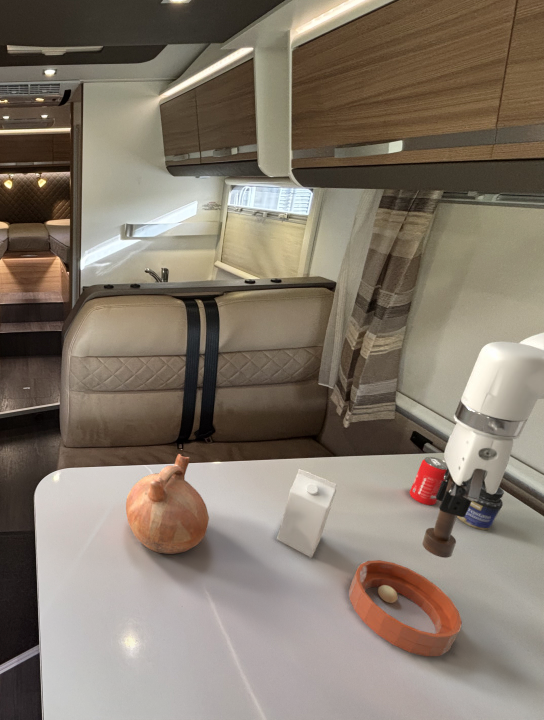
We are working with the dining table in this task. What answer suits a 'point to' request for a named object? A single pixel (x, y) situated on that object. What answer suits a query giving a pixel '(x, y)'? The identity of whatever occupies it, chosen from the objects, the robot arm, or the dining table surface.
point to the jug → (167, 510)
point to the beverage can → (428, 480)
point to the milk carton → (306, 512)
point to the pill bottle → (483, 510)
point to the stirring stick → (441, 533)
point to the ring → (415, 590)
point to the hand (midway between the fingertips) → (449, 506)
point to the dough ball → (387, 593)
